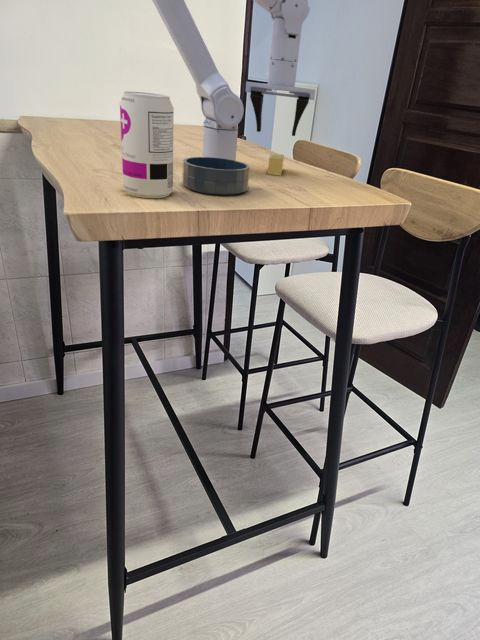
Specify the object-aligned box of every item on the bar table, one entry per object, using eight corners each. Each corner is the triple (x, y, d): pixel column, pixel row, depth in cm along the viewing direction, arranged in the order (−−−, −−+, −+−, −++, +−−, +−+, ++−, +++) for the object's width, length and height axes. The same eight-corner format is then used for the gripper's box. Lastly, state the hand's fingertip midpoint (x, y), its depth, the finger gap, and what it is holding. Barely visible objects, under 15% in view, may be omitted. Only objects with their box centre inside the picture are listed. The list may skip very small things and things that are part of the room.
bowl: (190, 178, 95) (190, 154, 93) (250, 185, 95) (252, 161, 93) (175, 191, 84) (176, 164, 82) (243, 199, 84) (245, 173, 82)
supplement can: (122, 197, 77) (118, 93, 69) (124, 186, 84) (120, 89, 76) (173, 200, 79) (174, 99, 71) (171, 189, 86) (172, 95, 78)
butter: (269, 168, 113) (271, 153, 111) (282, 170, 113) (283, 154, 111) (267, 174, 107) (269, 157, 105) (280, 175, 107) (282, 159, 105)
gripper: (246, 56, 94) (241, 131, 101) (319, 64, 94) (308, 139, 100) (250, 57, 100) (245, 128, 107) (318, 65, 100) (309, 135, 106)
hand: (276, 133), depth 104 cm, fingers open, 7 cm apart
